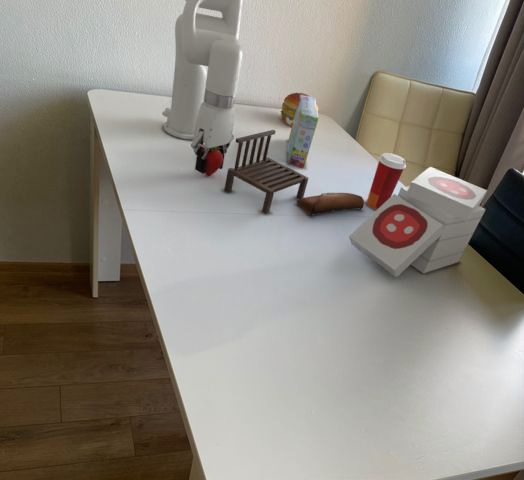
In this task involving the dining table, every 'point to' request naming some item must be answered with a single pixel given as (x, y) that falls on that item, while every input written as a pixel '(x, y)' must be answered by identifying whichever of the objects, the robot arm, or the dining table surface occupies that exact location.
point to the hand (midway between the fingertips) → (208, 168)
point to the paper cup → (385, 179)
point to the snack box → (302, 130)
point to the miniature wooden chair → (263, 170)
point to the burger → (291, 107)
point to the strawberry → (213, 160)
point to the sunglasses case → (330, 203)
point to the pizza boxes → (422, 224)
